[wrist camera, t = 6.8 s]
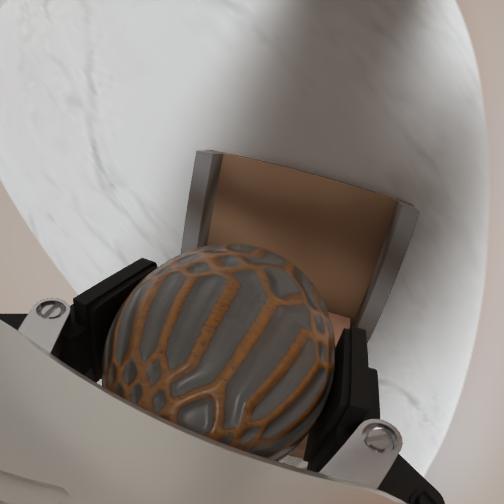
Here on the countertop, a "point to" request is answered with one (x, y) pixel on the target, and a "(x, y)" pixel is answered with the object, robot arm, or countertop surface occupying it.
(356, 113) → the countertop surface
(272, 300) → the vase
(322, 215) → the pusher lane
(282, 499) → the robot arm
